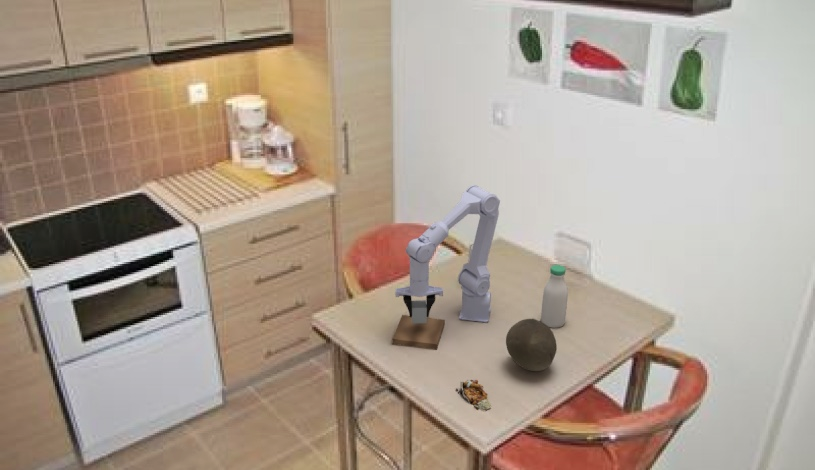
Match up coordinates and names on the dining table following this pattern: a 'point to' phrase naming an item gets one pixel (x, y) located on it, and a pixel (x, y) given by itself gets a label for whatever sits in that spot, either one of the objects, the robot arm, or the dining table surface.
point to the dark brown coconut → (531, 344)
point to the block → (419, 311)
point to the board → (418, 333)
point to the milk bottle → (555, 298)
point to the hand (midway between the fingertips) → (419, 315)
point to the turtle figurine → (475, 394)
